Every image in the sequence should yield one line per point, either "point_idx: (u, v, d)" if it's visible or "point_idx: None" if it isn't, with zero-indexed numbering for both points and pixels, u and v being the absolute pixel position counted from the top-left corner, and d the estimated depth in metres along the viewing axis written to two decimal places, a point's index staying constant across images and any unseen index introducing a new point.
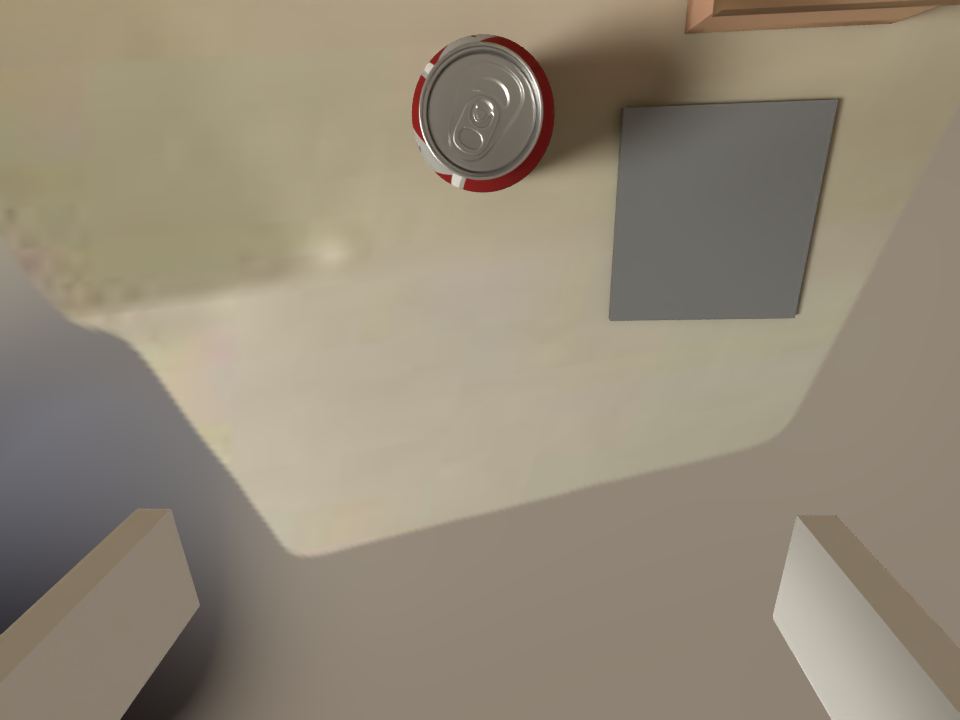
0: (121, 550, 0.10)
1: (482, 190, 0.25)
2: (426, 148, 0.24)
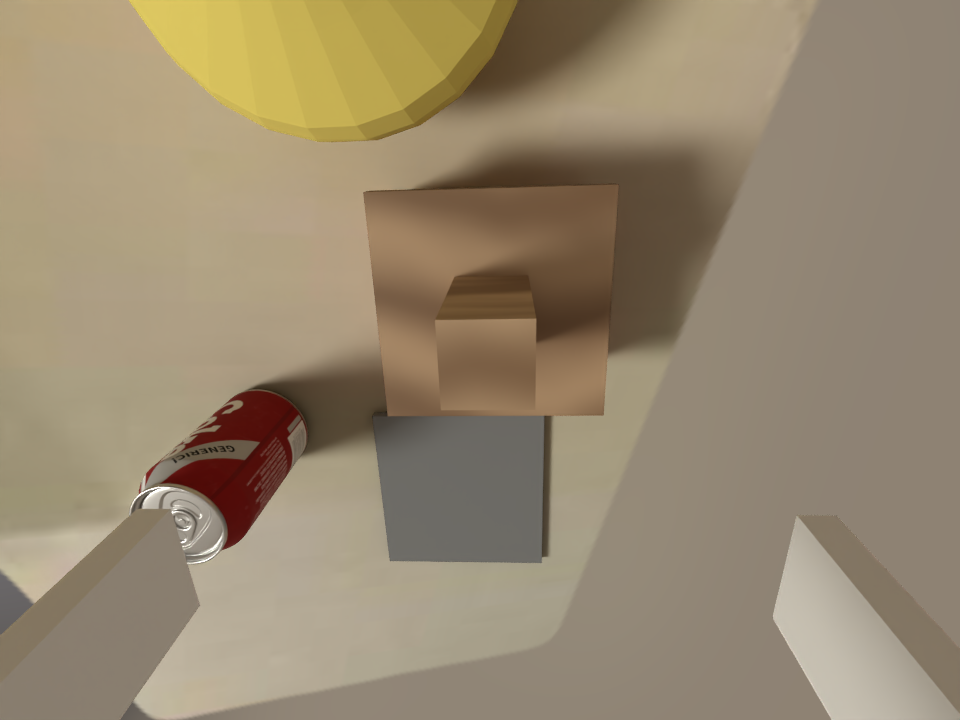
0: (121, 550, 0.10)
1: None
2: None
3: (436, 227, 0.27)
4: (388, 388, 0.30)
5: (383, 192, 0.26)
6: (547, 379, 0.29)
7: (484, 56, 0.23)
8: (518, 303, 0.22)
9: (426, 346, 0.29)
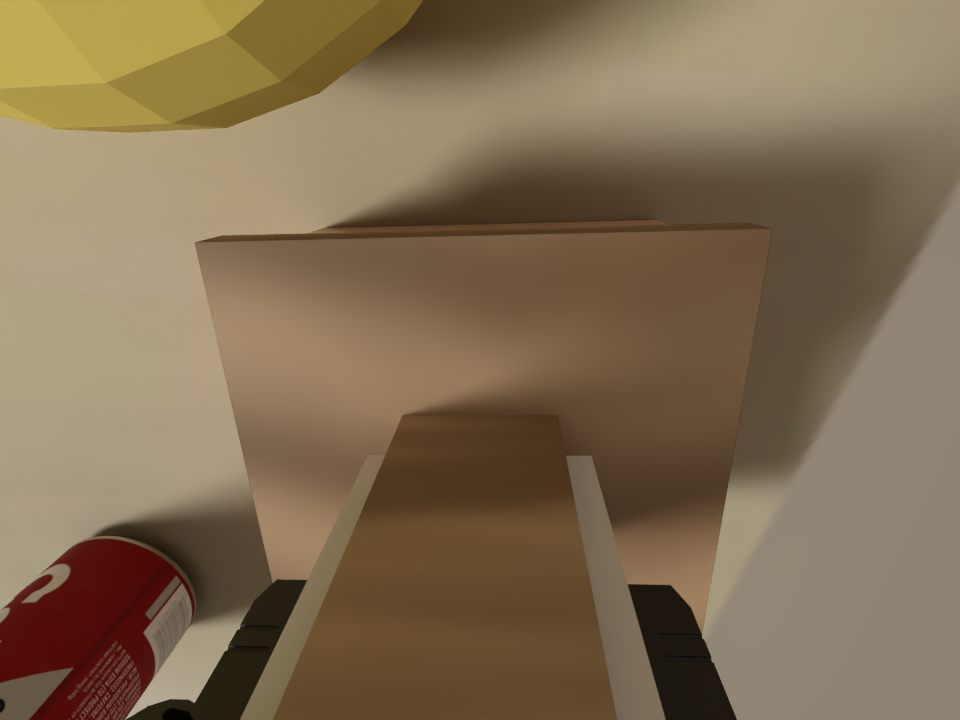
0: None
1: None
2: None
3: (359, 317, 0.12)
4: None
5: (238, 243, 0.12)
6: None
7: None
8: (549, 586, 0.08)
9: None
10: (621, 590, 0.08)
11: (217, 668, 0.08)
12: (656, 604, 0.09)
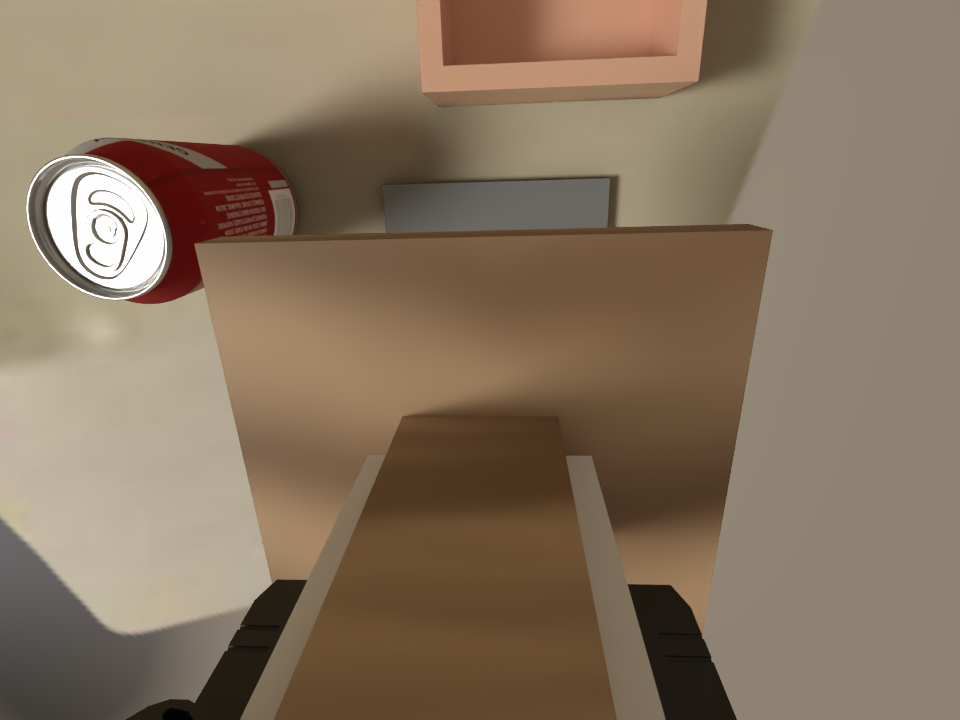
0: None
1: (146, 302, 0.22)
2: None
3: (359, 319, 0.12)
4: None
5: (238, 244, 0.12)
6: None
7: None
8: (549, 589, 0.08)
9: None
10: (621, 590, 0.08)
11: (217, 669, 0.08)
12: (656, 604, 0.09)
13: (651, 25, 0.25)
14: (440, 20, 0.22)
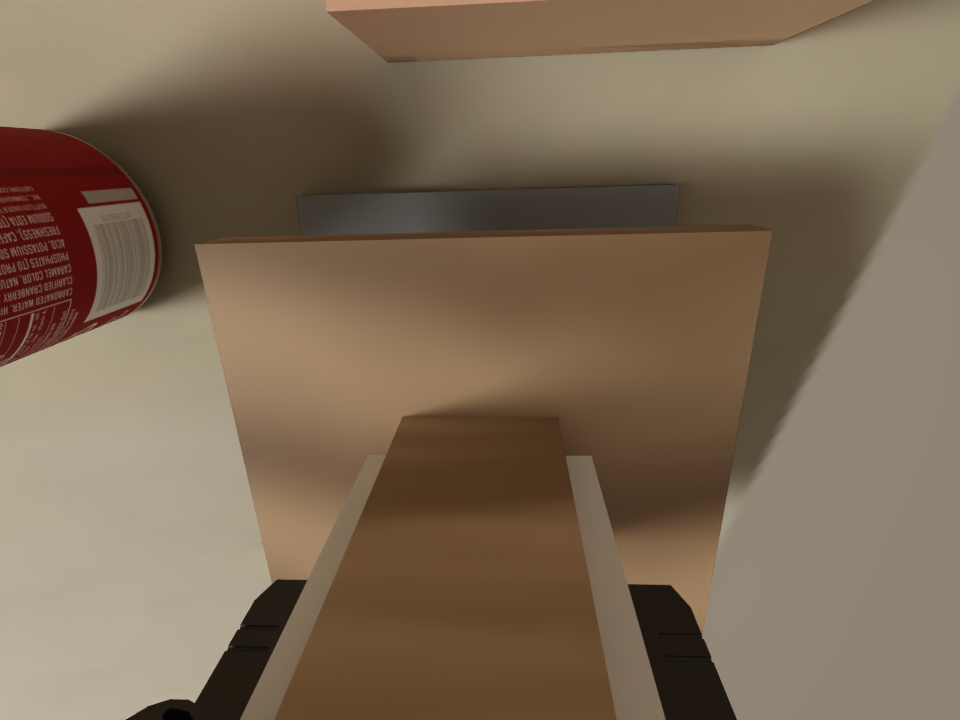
0: None
1: None
2: None
3: (359, 319, 0.12)
4: None
5: (238, 245, 0.12)
6: None
7: None
8: (550, 590, 0.08)
9: None
10: (621, 590, 0.08)
11: (217, 669, 0.08)
12: (656, 604, 0.09)
13: None
14: None
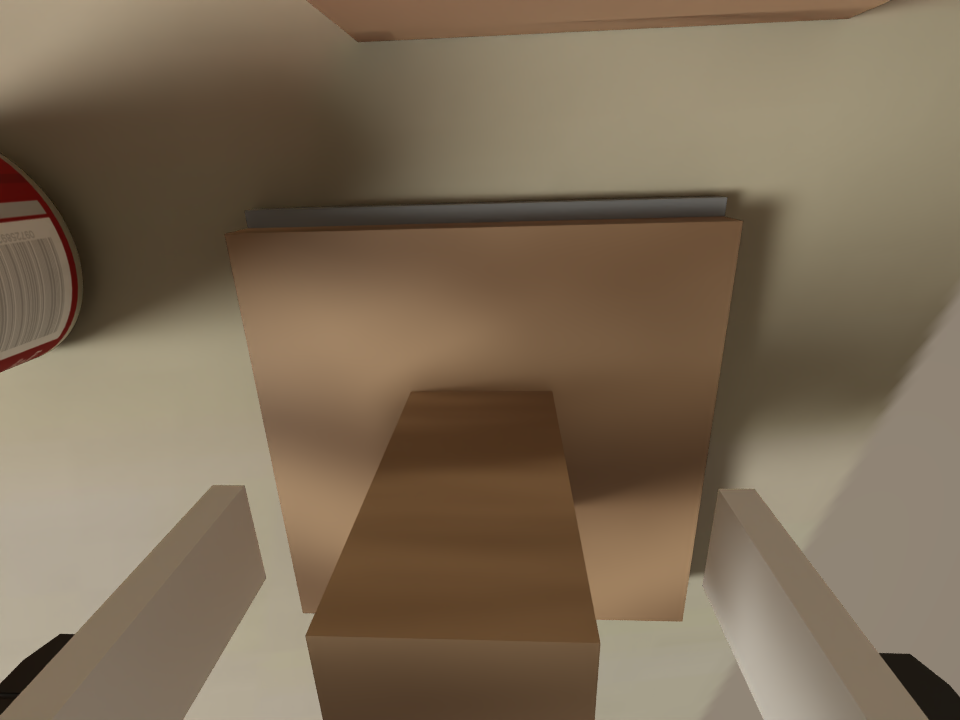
0: (206, 521, 0.10)
1: None
2: None
3: (372, 302, 0.14)
4: (301, 571, 0.17)
5: (264, 234, 0.13)
6: None
7: None
8: (541, 523, 0.09)
9: None
10: (880, 668, 0.07)
11: None
12: (906, 680, 0.07)
13: None
14: None
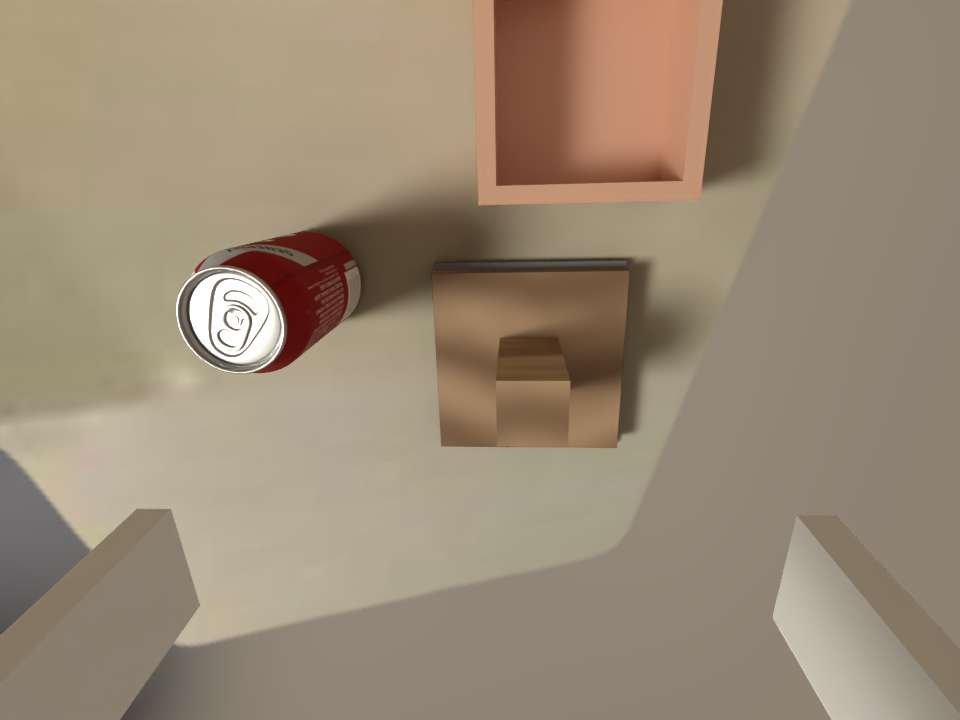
0: (121, 550, 0.10)
1: (255, 372, 0.28)
2: None
3: (487, 300, 0.34)
4: (443, 424, 0.37)
5: (447, 274, 0.34)
6: (571, 418, 0.37)
7: None
8: (555, 365, 0.29)
9: (475, 391, 0.36)
10: None
11: None
12: None
13: (661, 143, 0.31)
14: (495, 152, 0.27)
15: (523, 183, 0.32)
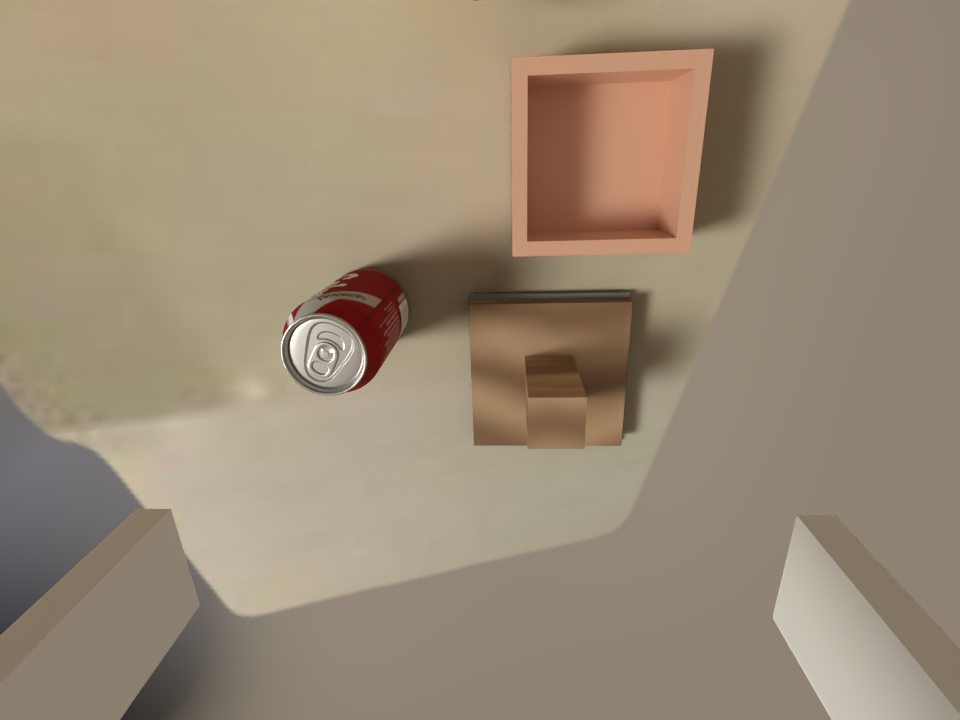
0: (121, 550, 0.10)
1: None
2: None
3: (514, 326, 0.41)
4: (476, 427, 0.45)
5: (481, 304, 0.41)
6: None
7: None
8: (573, 383, 0.37)
9: (503, 399, 0.44)
10: None
11: None
12: None
13: (659, 200, 0.38)
14: (526, 215, 0.34)
15: (545, 231, 0.39)
